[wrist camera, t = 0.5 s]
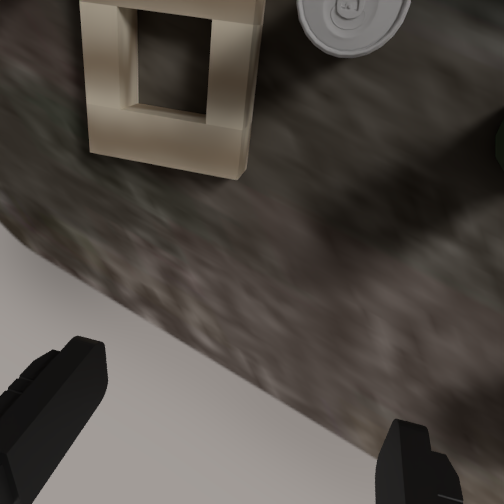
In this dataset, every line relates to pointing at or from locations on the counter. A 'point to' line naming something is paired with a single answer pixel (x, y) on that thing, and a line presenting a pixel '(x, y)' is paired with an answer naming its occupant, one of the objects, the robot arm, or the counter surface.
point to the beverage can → (351, 24)
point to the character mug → (500, 145)
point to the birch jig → (165, 119)
